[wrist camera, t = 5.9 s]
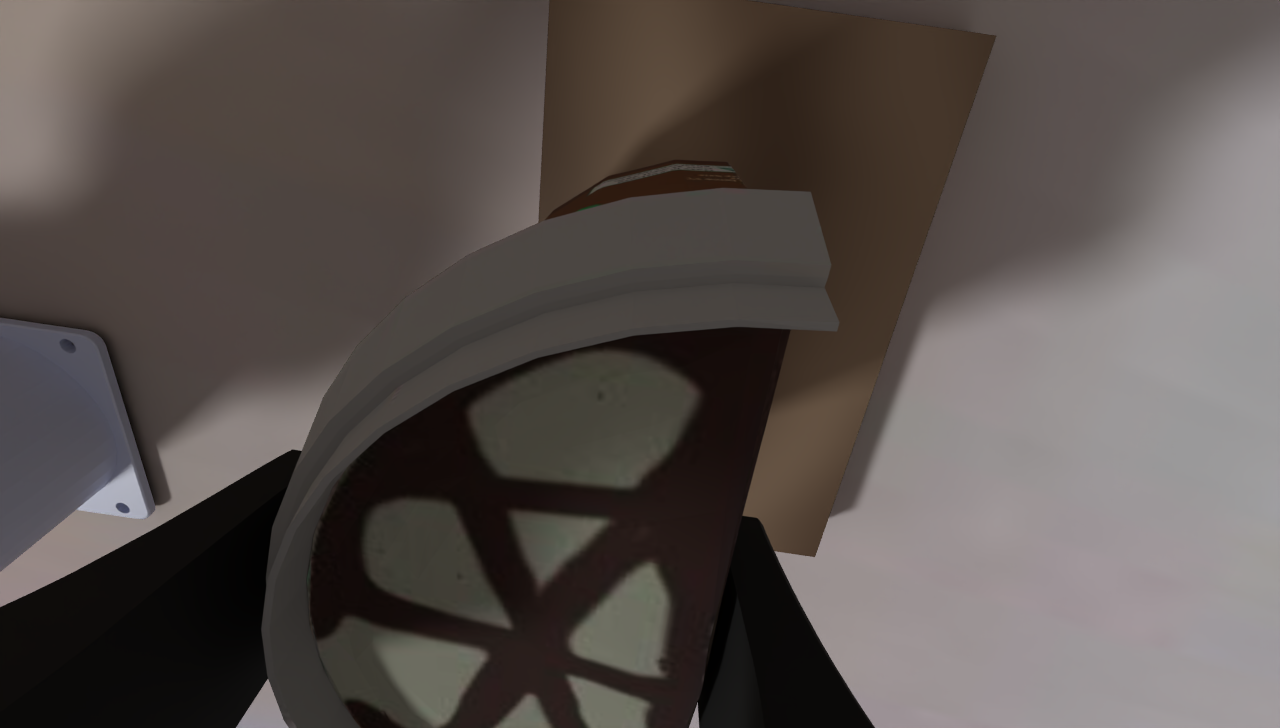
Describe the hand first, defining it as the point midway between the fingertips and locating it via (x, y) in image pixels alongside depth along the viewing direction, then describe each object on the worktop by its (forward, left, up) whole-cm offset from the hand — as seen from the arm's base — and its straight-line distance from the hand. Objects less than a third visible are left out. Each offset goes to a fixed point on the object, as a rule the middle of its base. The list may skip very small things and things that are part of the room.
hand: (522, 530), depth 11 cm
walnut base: (+3, 0, -10) cm, 11 cm away
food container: (0, 0, -7) cm, 7 cm away
